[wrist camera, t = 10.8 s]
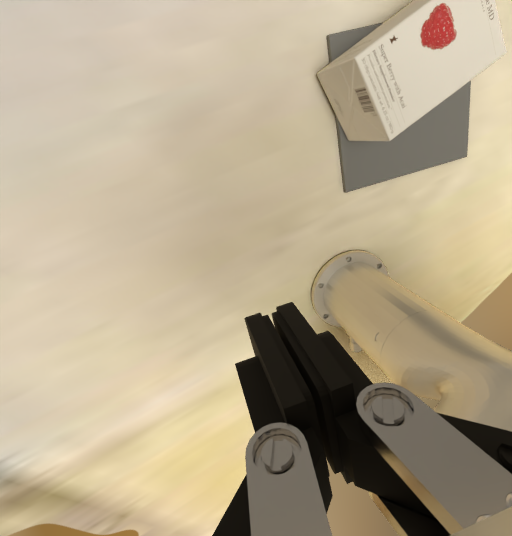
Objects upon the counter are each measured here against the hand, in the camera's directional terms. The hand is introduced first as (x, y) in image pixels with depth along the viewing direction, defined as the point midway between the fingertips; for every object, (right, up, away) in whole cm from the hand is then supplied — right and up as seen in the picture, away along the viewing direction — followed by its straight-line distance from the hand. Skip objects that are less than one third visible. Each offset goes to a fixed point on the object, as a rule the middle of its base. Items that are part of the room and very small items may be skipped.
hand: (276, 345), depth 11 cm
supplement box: (+9, +20, +24) cm, 33 cm away
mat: (+18, +24, +31) cm, 43 cm away
